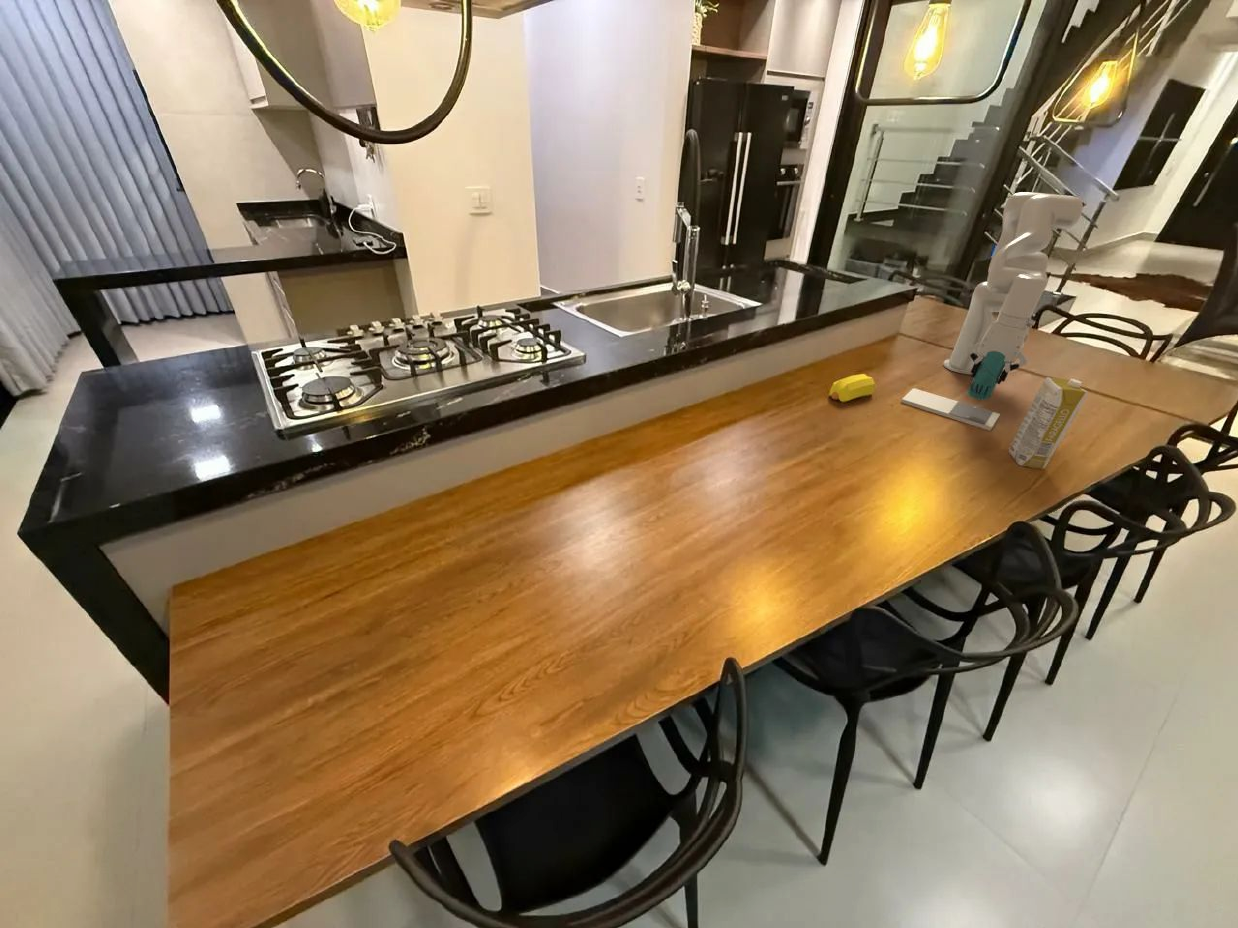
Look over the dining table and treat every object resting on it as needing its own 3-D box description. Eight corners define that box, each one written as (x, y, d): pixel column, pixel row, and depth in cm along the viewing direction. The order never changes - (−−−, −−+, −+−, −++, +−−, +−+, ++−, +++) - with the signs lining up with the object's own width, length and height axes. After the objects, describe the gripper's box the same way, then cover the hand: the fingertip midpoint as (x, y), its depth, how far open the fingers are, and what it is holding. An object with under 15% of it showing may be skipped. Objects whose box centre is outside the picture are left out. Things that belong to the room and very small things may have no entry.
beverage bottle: (982, 396, 169) (1010, 334, 158) (992, 406, 163) (1022, 342, 152) (960, 394, 169) (987, 332, 158) (969, 404, 163) (998, 340, 152)
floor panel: (912, 391, 183) (913, 387, 182) (998, 417, 169) (1000, 413, 168) (900, 402, 175) (902, 398, 174) (990, 430, 161) (992, 426, 161)
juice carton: (1049, 471, 143) (1096, 389, 130) (1016, 467, 145) (1060, 385, 131) (1033, 453, 151) (1077, 374, 138) (1003, 449, 152) (1043, 370, 139)
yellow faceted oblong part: (822, 396, 177) (840, 406, 171) (827, 377, 173) (846, 387, 168) (859, 386, 185) (878, 395, 179) (864, 368, 181) (884, 377, 176)
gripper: (1050, 325, 150) (1021, 384, 160) (981, 310, 159) (957, 367, 169) (1046, 331, 145) (1016, 392, 155) (975, 316, 155) (951, 374, 164)
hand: (986, 378), depth 162 cm, fingers closed on beverage bottle, 6 cm apart
